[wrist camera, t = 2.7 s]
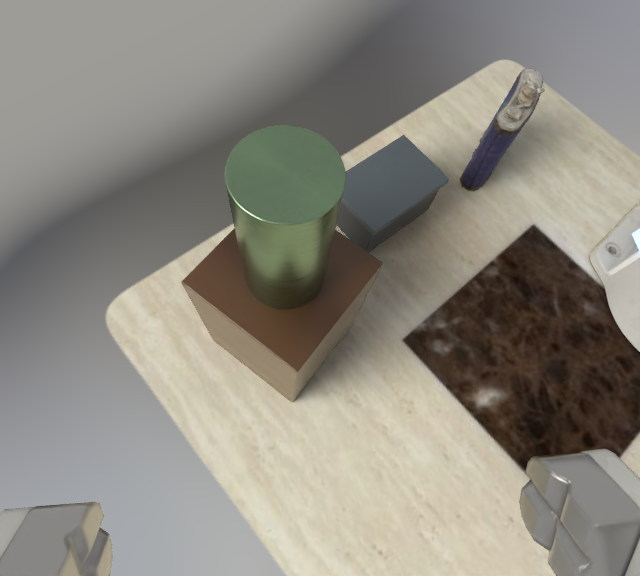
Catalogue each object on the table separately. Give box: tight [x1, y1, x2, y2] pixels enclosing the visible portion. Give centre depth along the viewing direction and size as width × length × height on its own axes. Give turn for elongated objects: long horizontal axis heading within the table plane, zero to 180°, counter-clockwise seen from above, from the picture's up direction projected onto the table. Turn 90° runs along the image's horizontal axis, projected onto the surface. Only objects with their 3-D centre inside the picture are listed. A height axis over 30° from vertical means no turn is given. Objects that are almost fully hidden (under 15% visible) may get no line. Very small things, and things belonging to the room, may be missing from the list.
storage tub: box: [336, 135, 449, 252], centre depth 42 cm, size 10×6×5 cm
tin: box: [225, 126, 346, 309], centre depth 22 cm, size 5×5×10 cm
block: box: [181, 228, 382, 402], centre depth 33 cm, size 9×9×13 cm
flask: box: [460, 69, 544, 191], centre depth 43 cm, size 9×3×11 cm, turn 150°
